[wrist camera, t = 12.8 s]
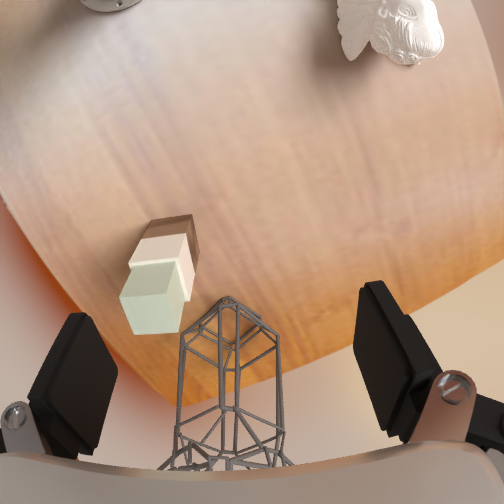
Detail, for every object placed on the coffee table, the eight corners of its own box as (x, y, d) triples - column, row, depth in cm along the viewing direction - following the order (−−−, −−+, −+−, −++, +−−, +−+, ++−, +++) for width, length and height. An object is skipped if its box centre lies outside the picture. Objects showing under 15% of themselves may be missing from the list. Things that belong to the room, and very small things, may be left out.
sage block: (133, 265, 35) (118, 297, 30) (175, 260, 35) (166, 293, 30) (145, 300, 37) (134, 334, 32) (185, 297, 37) (178, 332, 32)
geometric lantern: (293, 319, 55) (329, 520, 25) (231, 362, 61) (232, 538, 31) (226, 267, 49) (218, 508, 19) (165, 321, 55) (129, 518, 24)
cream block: (141, 239, 40) (128, 263, 35) (185, 233, 40) (178, 257, 35) (152, 278, 43) (142, 305, 38) (194, 273, 43) (189, 301, 38)
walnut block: (152, 219, 45) (141, 238, 40) (192, 214, 45) (186, 232, 40) (161, 255, 48) (153, 277, 43) (199, 251, 48) (195, 272, 43)
